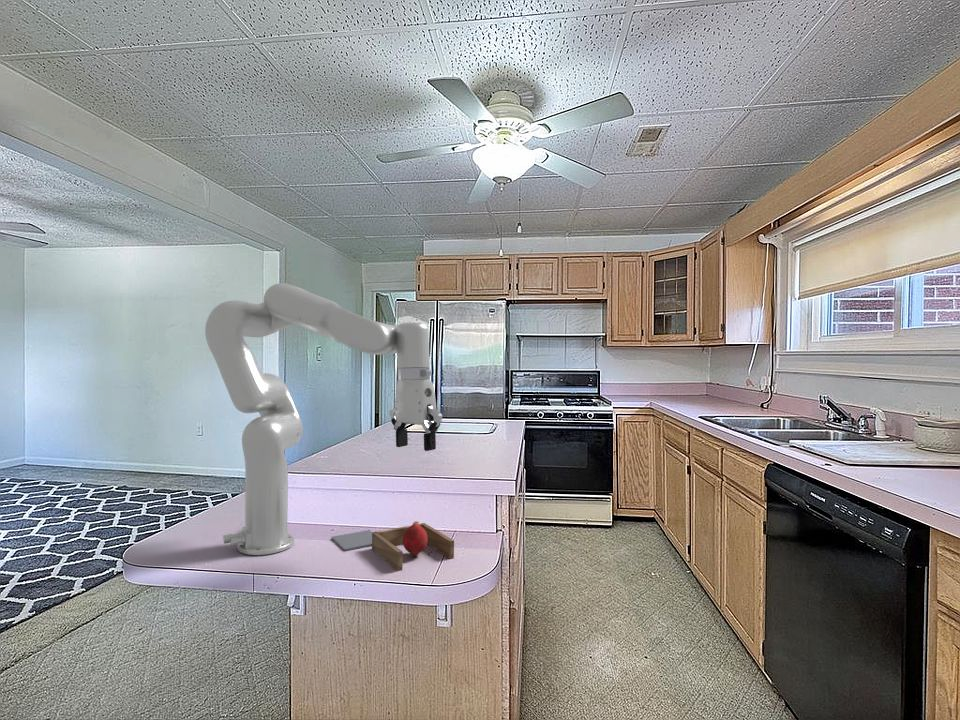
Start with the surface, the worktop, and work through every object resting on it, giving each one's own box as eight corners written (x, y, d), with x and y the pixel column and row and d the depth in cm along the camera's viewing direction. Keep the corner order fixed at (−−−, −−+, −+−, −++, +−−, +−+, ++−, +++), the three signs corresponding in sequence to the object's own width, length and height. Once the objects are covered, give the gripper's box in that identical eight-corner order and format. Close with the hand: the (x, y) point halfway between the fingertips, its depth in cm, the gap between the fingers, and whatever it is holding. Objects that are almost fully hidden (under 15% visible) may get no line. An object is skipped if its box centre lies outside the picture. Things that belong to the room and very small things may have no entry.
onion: (422, 561, 118) (423, 526, 118) (398, 559, 119) (399, 524, 119) (430, 552, 124) (430, 518, 124) (407, 550, 125) (407, 516, 125)
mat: (344, 551, 124) (344, 549, 124) (331, 538, 132) (331, 536, 132) (384, 543, 129) (384, 541, 129) (369, 531, 138) (369, 529, 138)
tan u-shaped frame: (398, 570, 113) (398, 552, 113) (371, 549, 125) (372, 532, 125) (453, 557, 121) (454, 540, 121) (424, 538, 133) (424, 522, 133)
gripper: (451, 374, 120) (453, 449, 120) (401, 374, 131) (403, 442, 131) (427, 376, 114) (429, 454, 114) (377, 376, 126) (379, 447, 126)
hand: (415, 448), depth 123 cm, fingers open, 9 cm apart
